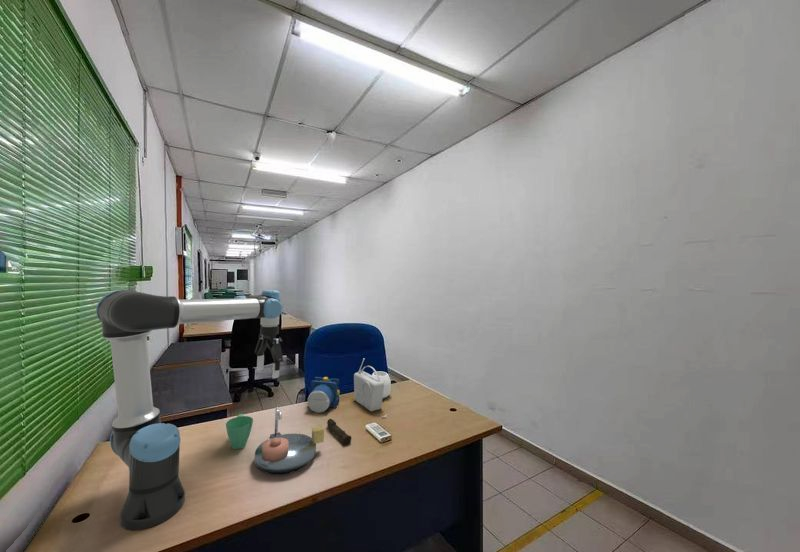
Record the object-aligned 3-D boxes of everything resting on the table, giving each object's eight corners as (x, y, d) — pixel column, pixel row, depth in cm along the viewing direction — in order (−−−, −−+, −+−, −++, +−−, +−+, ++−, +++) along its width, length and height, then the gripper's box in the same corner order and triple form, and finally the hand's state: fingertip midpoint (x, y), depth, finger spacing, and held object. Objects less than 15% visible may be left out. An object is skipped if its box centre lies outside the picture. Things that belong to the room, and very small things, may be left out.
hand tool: (351, 444, 132) (352, 433, 132) (343, 447, 130) (343, 436, 130) (333, 425, 148) (333, 415, 148) (325, 427, 146) (325, 417, 145)
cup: (365, 399, 178) (366, 376, 178) (371, 391, 191) (372, 369, 191) (388, 402, 176) (389, 378, 176) (392, 393, 189) (393, 371, 189)
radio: (350, 399, 177) (351, 355, 177) (362, 396, 182) (364, 354, 182) (370, 414, 160) (372, 366, 160) (384, 410, 165) (385, 363, 165)
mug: (252, 449, 125) (253, 424, 125) (224, 455, 121) (225, 429, 121) (252, 432, 139) (252, 409, 138) (226, 436, 134) (227, 413, 134)
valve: (314, 400, 174) (313, 374, 172) (340, 402, 172) (340, 377, 170) (304, 413, 161) (303, 386, 159) (332, 416, 159) (331, 389, 157)
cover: (272, 465, 109) (273, 449, 109) (256, 456, 114) (257, 441, 114) (293, 452, 117) (293, 438, 117) (277, 445, 122) (277, 431, 122)
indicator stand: (270, 436, 135) (271, 405, 135) (279, 434, 138) (280, 404, 137) (274, 447, 127) (275, 414, 127) (284, 445, 130) (285, 412, 129)
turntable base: (282, 481, 108) (282, 475, 108) (249, 463, 117) (249, 458, 117) (320, 455, 123) (320, 450, 123) (288, 441, 132) (289, 437, 132)
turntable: (281, 480, 105) (282, 459, 105) (241, 458, 116) (242, 439, 116) (331, 447, 125) (331, 429, 125) (293, 431, 137) (293, 415, 136)
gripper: (293, 328, 132) (291, 378, 132) (264, 321, 148) (262, 365, 148) (276, 330, 126) (274, 383, 126) (248, 322, 142) (245, 369, 142)
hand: (267, 373), depth 137 cm, fingers open, 13 cm apart
